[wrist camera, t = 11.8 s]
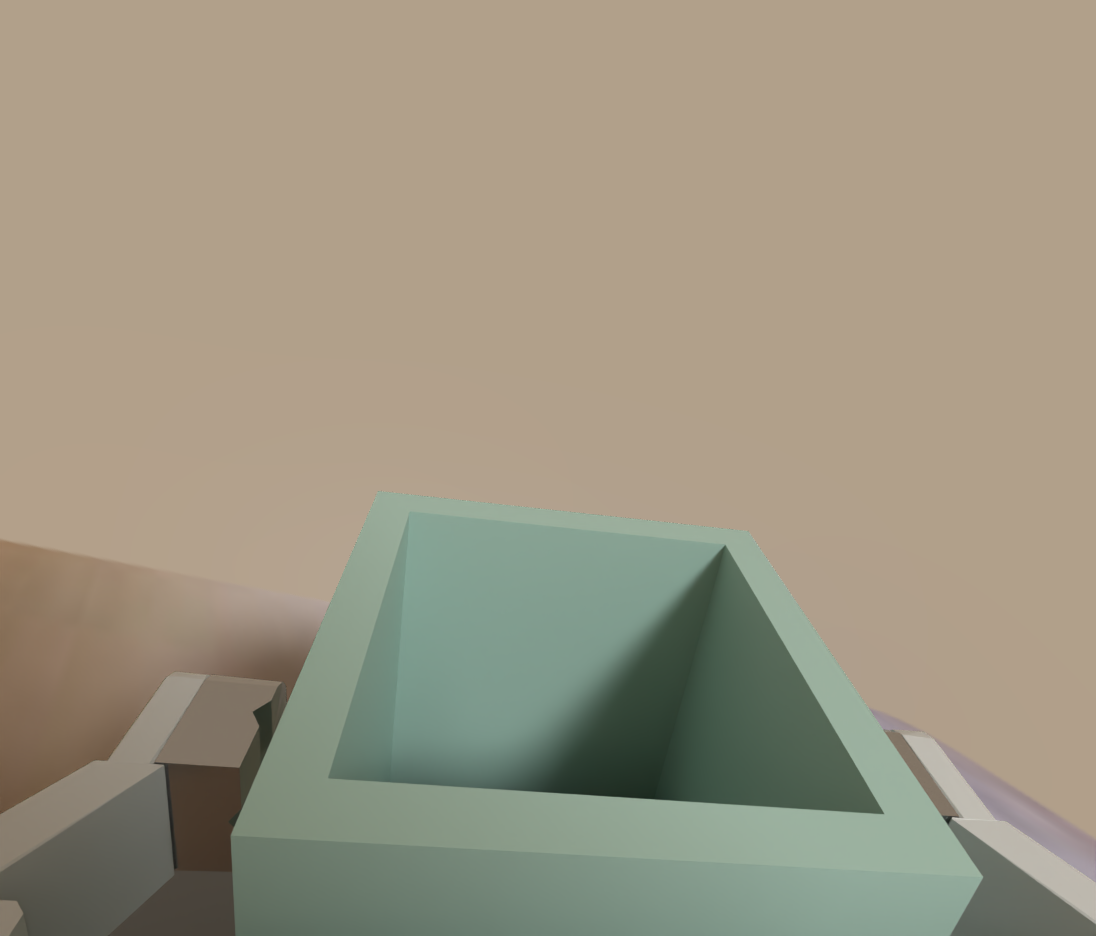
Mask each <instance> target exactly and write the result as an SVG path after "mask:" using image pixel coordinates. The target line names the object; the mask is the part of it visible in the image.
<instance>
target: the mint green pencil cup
mask: <svg viewBox="0 0 1096 936" xmlns="http://www.w3.org/2000/svg"><path fill="white" fill-rule="evenodd" d="M231 855H232V876H233V896H234V916H235V936H950V935H951V933H952V931H953V930H954V928H955V926H956V924H957V923H958V921H959V919H960V917H961V915H962V914H963V912H964V910H965V908H966V907H967V905H968V903H969V901H970V900H971V898H972V896H973V894H974V893H975V891H976V889H977V887H978V886H979V884H980V882H981V880H982V879H983V876H982V875H981V873H980V872H979V870H978V869H977V867H976V866H975V864H974V863H973V861H972V860H971V858H970V857H969V856H968V854H967V853H966V851H965V850H964V848H963V847H962V845H961V844H960V842H959V841H958V839H957V838H956V836H955V835H954V833H953V832H952V830H951V829H950V828H949V826H948V825H947V823H946V822H945V820H944V819H943V817H942V816H941V814H940V813H939V811H938V810H937V808H936V807H935V805H934V804H933V802H932V801H931V800H930V798H929V797H928V795H927V794H926V792H925V791H924V789H923V788H922V786H921V785H920V783H919V782H918V780H917V779H916V777H915V776H914V775H913V773H912V772H911V770H910V769H909V767H908V766H907V764H906V763H905V761H904V760H903V758H902V757H901V755H900V754H899V752H898V751H897V749H896V748H895V747H894V745H893V744H892V742H891V741H890V739H889V738H888V736H887V735H886V733H885V732H884V730H883V729H882V727H881V726H880V724H879V723H878V721H877V720H876V719H875V717H874V716H873V714H872V713H871V711H870V710H869V708H868V707H867V705H866V704H865V702H864V701H863V699H862V698H861V696H860V695H859V694H858V692H857V691H856V689H855V688H854V686H853V685H852V683H851V682H850V680H849V679H848V677H847V676H846V674H845V673H844V671H843V670H842V669H841V667H840V666H839V664H838V663H837V661H836V660H835V658H834V657H833V655H832V654H831V652H830V651H829V649H828V648H827V646H826V645H825V643H824V642H823V640H822V639H821V638H820V636H819V635H818V633H817V632H816V630H815V629H814V627H813V626H812V624H811V623H810V621H809V620H808V618H807V617H806V616H805V614H804V613H803V611H802V610H801V608H800V607H799V605H798V604H797V602H796V601H795V599H794V598H793V596H792V595H791V593H790V592H789V590H788V589H787V587H786V586H785V585H784V583H783V582H782V580H781V579H780V577H779V576H778V574H777V573H776V571H775V570H774V568H773V567H772V565H771V564H770V563H769V561H768V559H767V558H766V557H765V555H764V554H763V552H762V551H761V549H760V548H759V546H758V545H757V543H756V542H755V540H754V539H753V537H752V536H751V535H750V533H749V532H748V531H741V530H733V529H723V528H714V527H705V526H696V525H686V524H677V523H668V522H659V521H650V520H649V521H648V520H640V519H631V518H622V517H612V516H603V515H594V514H585V513H575V512H566V511H557V510H547V509H539V508H529V507H520V506H510V505H501V504H492V503H482V502H474V501H464V500H455V499H446V498H437V497H428V496H419V495H409V494H400V493H391V492H381V491H378V493H377V495H376V498H375V500H374V502H373V504H372V507H371V509H370V511H369V514H368V516H367V518H366V521H365V523H364V526H363V528H362V530H361V532H360V535H359V537H358V539H357V542H356V544H355V547H354V549H353V551H352V553H351V556H350V558H349V560H348V563H347V565H346V567H345V570H344V572H343V574H342V577H341V579H340V581H339V584H338V586H337V588H336V591H335V593H334V595H333V598H332V600H331V602H330V605H329V607H328V609H327V612H326V614H325V616H324V619H323V621H322V623H321V626H320V628H319V630H318V633H317V635H316V637H315V640H314V642H313V644H312V647H311V649H310V651H309V654H308V656H307V658H306V661H305V663H304V665H303V668H302V670H301V672H300V675H299V677H298V679H297V682H296V684H295V686H294V689H293V691H292V693H291V696H290V698H289V700H288V703H287V705H286V707H285V710H284V712H283V714H282V717H281V719H280V721H279V724H278V726H277V728H276V731H275V733H274V735H273V738H272V740H271V742H270V745H269V747H268V749H267V752H266V754H265V756H264V759H263V761H262V763H261V766H260V768H259V770H258V773H257V775H256V777H255V780H254V782H253V784H252V787H251V789H250V791H249V794H248V796H247V798H246V801H245V803H244V805H243V808H242V810H241V812H240V815H239V817H238V819H237V822H236V824H235V826H234V829H233V831H232V833H231Z"/></svg>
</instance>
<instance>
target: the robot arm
mask: <svg viewBox="0 0 1096 936" xmlns="http://www.w3.org/2000/svg"><path fill="white" fill-rule="evenodd" d="M286 705H287V697H286V685H285V684H284V683H283V682H280V681H270V680H260V679H251V678H241V677H231V676H222V675H205V674H195V673H186V672H177V671H175V672H173V673H172V674H170V675H169V676H167V677H166V678H165V679H164V680H163V682H162V683H161V685H160V686H159V687H158V689H157V690H156V692H155V693H154V694H153V696H152V697H151V699H150V700H149V702H148V703H147V704H146V706H145V707H144V709H143V710H142V711H141V713H140V714H139V716H138V717H137V719H136V720H135V721H134V723H133V724H132V726H131V727H130V728H129V730H128V731H127V733H126V734H125V735H124V737H123V738H122V740H121V741H120V743H119V744H118V745H117V747H116V748H115V750H114V751H113V752H112V754H111V755H110V757H109V758H108V760H107V761H101V760H94V761H92V762H91V763H89V764H87V765H85V766H84V767H82V768H80V769H78V770H77V771H75V772H73V773H71V774H70V775H68V776H66V777H64V778H63V779H61V780H59V781H57V782H56V783H54V784H52V785H50V786H49V787H47V788H45V789H43V790H42V791H40V792H38V793H36V794H35V795H33V796H31V797H29V798H28V799H26V800H24V801H22V802H21V803H19V804H17V805H15V806H14V807H12V808H10V809H8V810H7V811H5V812H3V813H1V814H0V936H108V935H109V934H110V933H111V932H112V931H114V930H115V929H116V928H117V927H118V926H119V925H120V924H121V923H122V922H123V921H125V920H126V919H127V918H128V917H129V916H130V915H131V914H132V913H133V912H134V911H135V910H137V909H138V908H139V907H140V906H141V905H142V904H143V903H144V902H145V901H146V900H147V899H149V898H150V897H151V896H152V895H153V894H154V893H155V892H156V891H157V890H158V889H160V888H161V887H162V886H163V885H164V884H165V883H166V882H167V881H168V880H169V879H170V878H172V877H173V876H174V870H176V871H219V872H232V855H231V833H232V831H233V829H234V826H235V824H236V822H237V819H238V817H239V815H240V812H241V810H242V808H243V805H244V803H245V801H246V798H247V796H248V794H249V791H250V789H251V787H252V784H253V782H254V780H255V777H256V775H257V773H258V770H259V768H260V766H261V763H262V761H263V759H264V756H265V754H266V752H267V749H268V747H269V745H270V742H271V740H272V738H273V735H274V733H275V731H276V728H277V726H278V724H279V721H280V719H281V716H282V714H283V712H284V709H285V707H286ZM884 732H885V733H886V735H887V736H888V738H889V739H890V741H891V742H892V744H893V745H894V747H895V748H896V749H897V751H898V752H899V754H900V755H901V757H902V758H903V760H904V761H905V763H906V764H907V766H908V767H909V769H910V770H911V772H912V773H913V775H914V776H915V777H916V779H917V780H918V782H919V783H920V785H921V786H922V788H923V789H924V791H925V792H926V794H927V795H928V797H929V798H930V800H931V801H932V802H933V804H934V805H935V807H936V808H937V810H938V811H939V813H940V814H941V816H942V817H943V819H944V820H945V822H946V823H947V825H948V826H949V828H950V829H951V830H952V832H953V833H954V835H955V836H956V838H957V839H958V841H959V842H960V844H961V845H962V847H963V848H964V850H965V851H966V853H967V854H968V856H969V857H970V858H971V860H972V861H973V863H974V864H975V866H976V867H977V869H978V870H979V872H980V873H981V875H982V876H983V879H982V880H981V882H980V884H979V886H978V887H977V889H976V891H975V893H974V894H973V896H972V898H971V900H970V901H969V903H968V905H967V907H966V908H965V910H964V912H963V914H962V915H961V917H960V919H959V921H958V923H957V924H956V926H955V928H954V930H953V931H952V933H951V935H950V936H1096V883H1095V882H1094V881H1092V880H1091V879H1090V878H1088V877H1087V876H1085V875H1084V874H1082V873H1081V872H1079V871H1078V870H1076V869H1075V868H1073V867H1072V866H1070V865H1069V864H1068V863H1066V862H1065V861H1063V860H1062V859H1060V858H1059V857H1057V856H1056V855H1054V854H1053V853H1051V852H1050V851H1049V850H1047V849H1046V848H1044V847H1043V846H1041V845H1040V844H1038V843H1037V842H1035V841H1034V840H1032V839H1031V838H1029V837H1028V836H1027V835H1025V834H1024V833H1022V832H1021V831H1019V830H1018V829H1016V828H1015V827H1013V826H1012V825H1010V824H1009V823H1007V822H1006V821H996V820H995V819H994V817H993V816H992V815H991V813H990V812H989V811H988V809H987V808H986V807H985V806H984V804H983V803H982V802H981V800H980V799H979V798H978V796H977V795H976V794H975V792H974V791H973V790H972V788H971V787H970V786H969V785H968V783H967V782H966V781H965V779H964V778H963V777H962V775H961V774H960V773H959V771H958V770H957V769H956V768H955V766H954V765H953V764H952V762H951V761H950V760H949V758H948V757H947V756H946V754H945V753H944V752H943V750H942V749H941V748H940V747H939V745H938V744H937V743H936V741H935V740H934V739H933V738H932V737H931V736H929V735H928V734H926V733H925V732H921V731H905V730H884Z"/></svg>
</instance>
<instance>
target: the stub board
mask: <svg viewBox="0 0 1096 936" xmlns="http://www.w3.org/2000/svg"><path fill="white" fill-rule="evenodd" d="M108 936H235V916H234V896H233V876H232V872H219V871H176V870H174V876H173V877H172V878H170V879H169V880H168V881H167V882H166V883H165V884H164V885H163V886H162V887H161V888H160V889H158V890H157V891H156V892H155V893H154V894H153V895H152V896H151V897H150V898H149V899H147V900H146V901H145V902H144V903H143V904H142V905H141V906H140V907H139V908H138V909H137V910H135V911H134V912H133V913H132V914H131V915H130V916H129V917H128V918H127V919H126V920H125V921H123V922H122V923H121V924H120V925H119V926H118V927H117V928H116V929H115V930H114V931H112V932H111V933H110V934H109V935H108Z"/></svg>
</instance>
